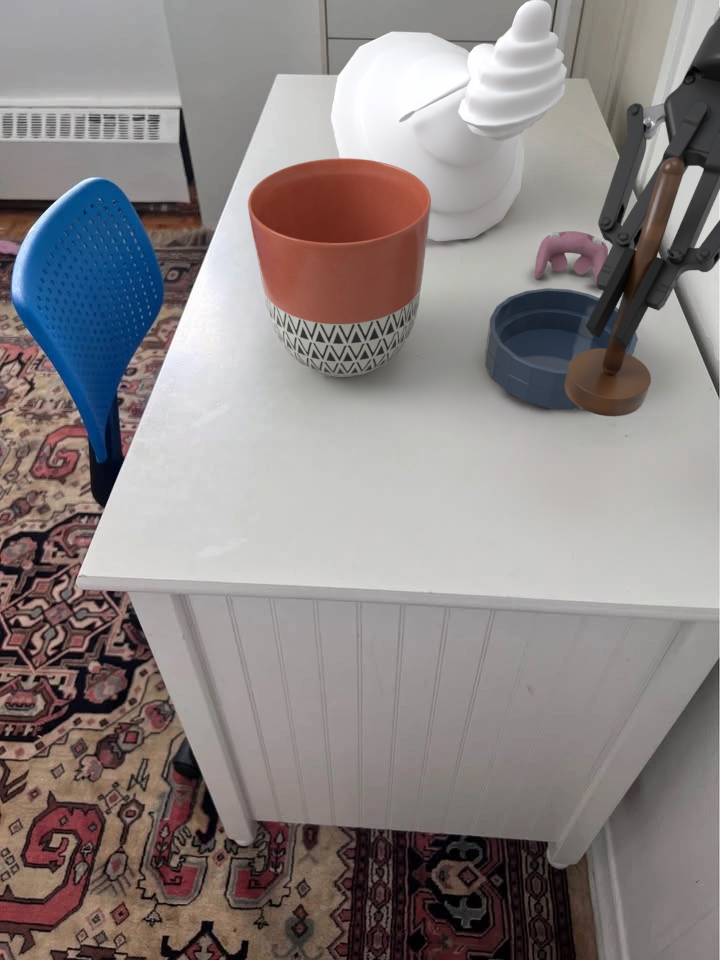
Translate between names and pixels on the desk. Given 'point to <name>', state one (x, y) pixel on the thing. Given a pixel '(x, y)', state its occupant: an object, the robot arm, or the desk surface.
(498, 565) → the desk surface
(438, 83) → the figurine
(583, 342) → the bowl
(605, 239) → the robot arm
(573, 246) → the video game controller
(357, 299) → the planter
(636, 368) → the masher
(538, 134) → the desk surface
